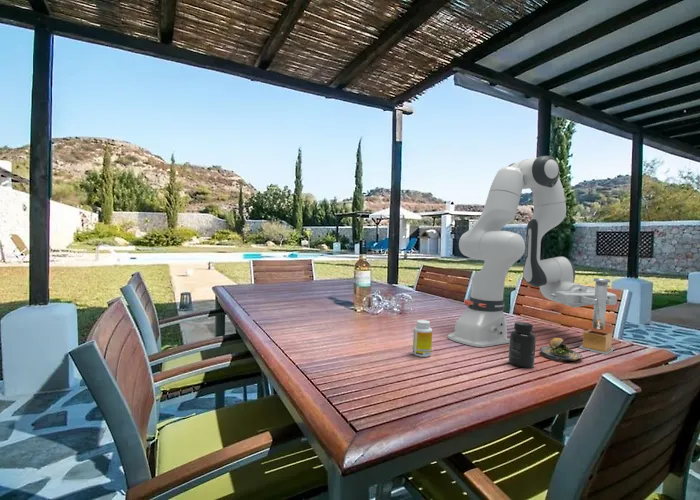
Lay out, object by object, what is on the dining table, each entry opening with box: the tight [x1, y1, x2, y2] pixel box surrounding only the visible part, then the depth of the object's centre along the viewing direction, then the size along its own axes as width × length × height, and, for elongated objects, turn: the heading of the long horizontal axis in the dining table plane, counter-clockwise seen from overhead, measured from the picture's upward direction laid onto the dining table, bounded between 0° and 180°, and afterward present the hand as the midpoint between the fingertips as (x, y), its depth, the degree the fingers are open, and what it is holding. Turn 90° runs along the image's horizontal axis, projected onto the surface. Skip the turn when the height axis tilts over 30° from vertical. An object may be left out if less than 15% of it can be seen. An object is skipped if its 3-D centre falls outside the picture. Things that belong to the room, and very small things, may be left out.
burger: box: [538, 337, 584, 363], centre depth 117 cm, size 12×12×8 cm
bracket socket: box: [578, 329, 615, 355], centre depth 127 cm, size 8×8×6 cm
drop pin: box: [592, 277, 611, 331], centre depth 126 cm, size 5×5×17 cm
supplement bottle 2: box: [508, 321, 537, 369], centre depth 108 cm, size 7×7×12 cm
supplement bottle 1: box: [412, 319, 433, 358], centre depth 114 cm, size 6×6×10 cm
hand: (602, 302), depth 125 cm, fingers closed on drop pin, 3 cm apart
